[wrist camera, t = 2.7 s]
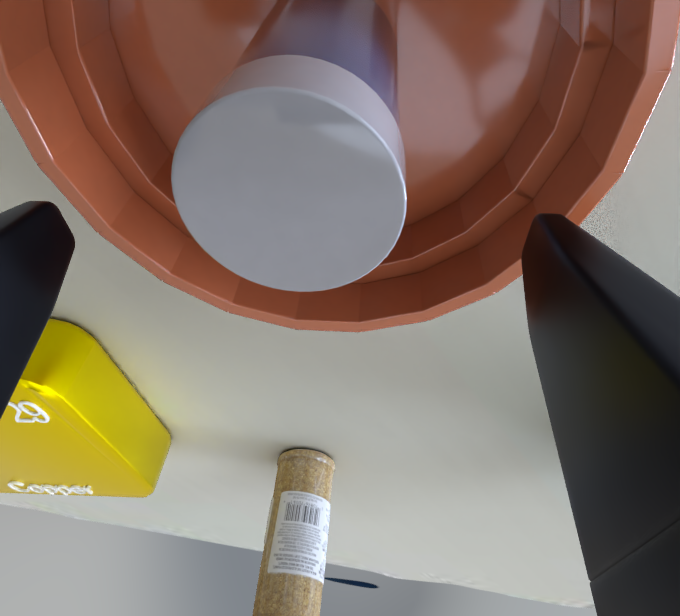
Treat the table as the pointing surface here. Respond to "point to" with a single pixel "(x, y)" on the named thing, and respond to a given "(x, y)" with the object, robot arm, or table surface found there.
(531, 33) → the bowl
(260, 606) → the sprinkles bottle
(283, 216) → the salt shaker
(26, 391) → the element tile
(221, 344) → the table surface
